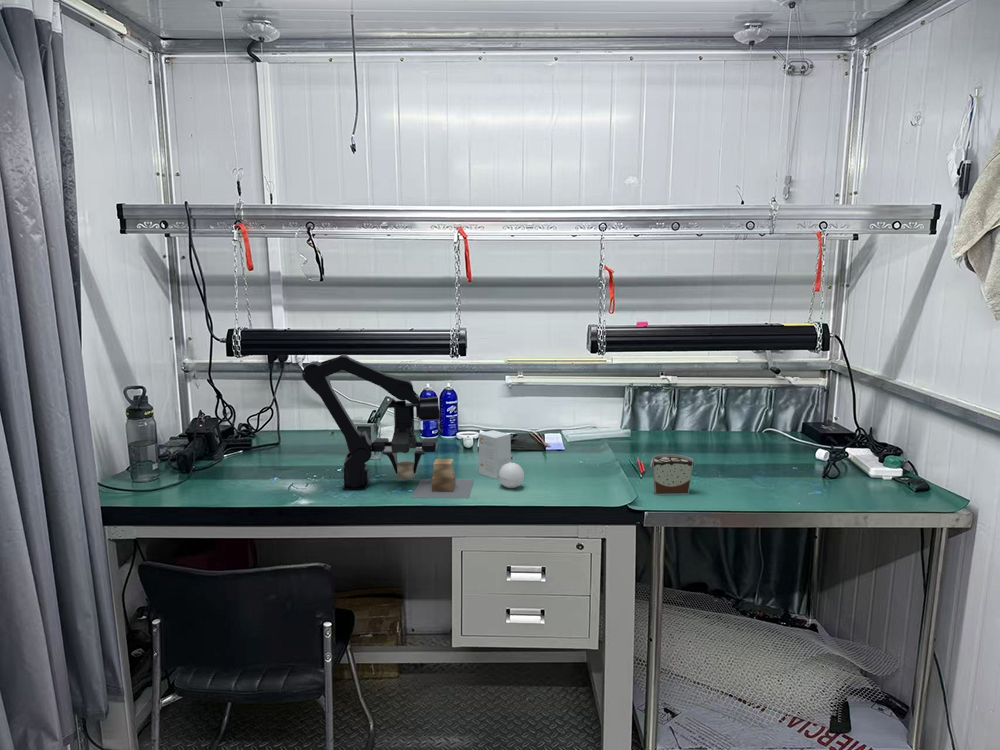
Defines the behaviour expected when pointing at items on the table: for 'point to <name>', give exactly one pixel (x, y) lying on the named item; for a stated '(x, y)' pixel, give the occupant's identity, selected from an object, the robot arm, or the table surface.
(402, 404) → the robot arm
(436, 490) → the tower base
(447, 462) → the tower top
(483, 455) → the small box
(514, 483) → the white sphere
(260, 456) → the table surface
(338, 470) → the table surface
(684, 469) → the food container
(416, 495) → the coaster
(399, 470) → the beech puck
